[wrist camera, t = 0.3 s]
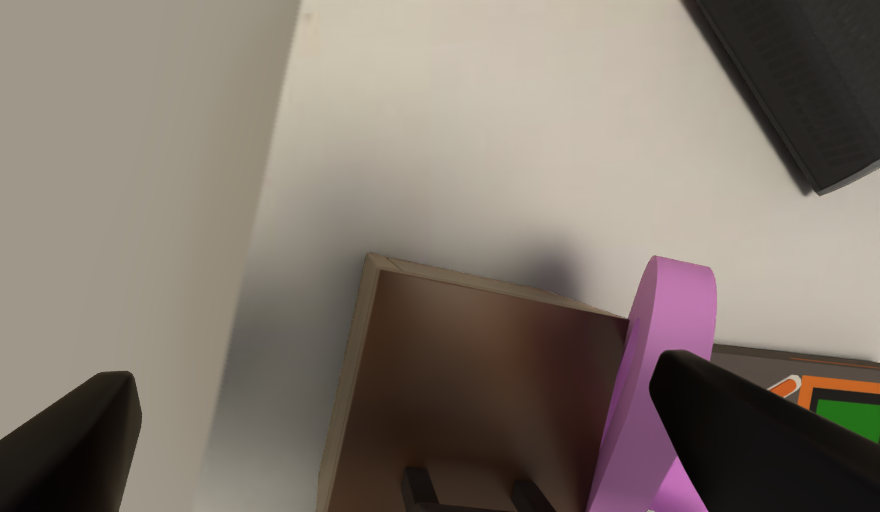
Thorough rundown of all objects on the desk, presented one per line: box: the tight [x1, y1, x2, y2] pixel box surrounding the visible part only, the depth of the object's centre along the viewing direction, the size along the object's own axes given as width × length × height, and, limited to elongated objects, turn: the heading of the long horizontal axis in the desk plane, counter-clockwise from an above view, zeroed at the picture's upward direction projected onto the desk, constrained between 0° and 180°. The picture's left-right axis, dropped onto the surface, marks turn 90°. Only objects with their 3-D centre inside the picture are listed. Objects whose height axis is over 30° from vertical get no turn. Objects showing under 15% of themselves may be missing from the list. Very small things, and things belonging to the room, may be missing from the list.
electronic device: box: [710, 344, 880, 444], centre depth 24 cm, size 7×3×15 cm
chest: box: [316, 253, 612, 512], centre depth 19 cm, size 10×8×6 cm
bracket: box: [585, 256, 717, 512], centre depth 16 cm, size 13×6×7 cm
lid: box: [325, 267, 630, 512], centre depth 14 cm, size 10×8×5 cm
